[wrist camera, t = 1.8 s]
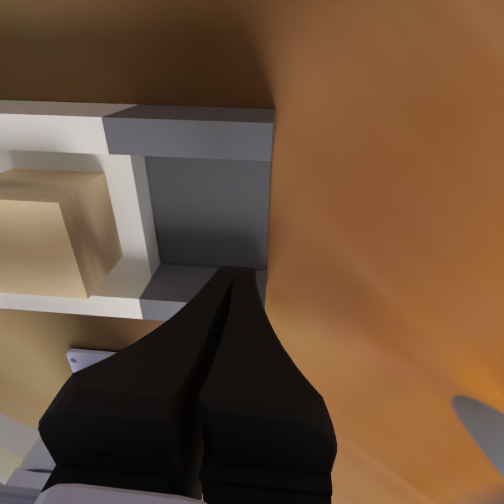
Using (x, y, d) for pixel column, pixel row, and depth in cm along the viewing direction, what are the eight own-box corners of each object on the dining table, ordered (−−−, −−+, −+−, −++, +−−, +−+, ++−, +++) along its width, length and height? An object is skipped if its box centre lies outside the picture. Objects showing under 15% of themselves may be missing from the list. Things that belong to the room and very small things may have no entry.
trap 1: (266, 266, 21) (265, 269, 21) (163, 259, 22) (161, 262, 21) (272, 141, 17) (271, 143, 17) (145, 137, 18) (142, 138, 17)
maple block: (122, 255, 19) (87, 298, 16) (42, 250, 20) (-10, 291, 16) (104, 172, 17) (58, 202, 13) (12, 168, 17) (-57, 196, 14)
